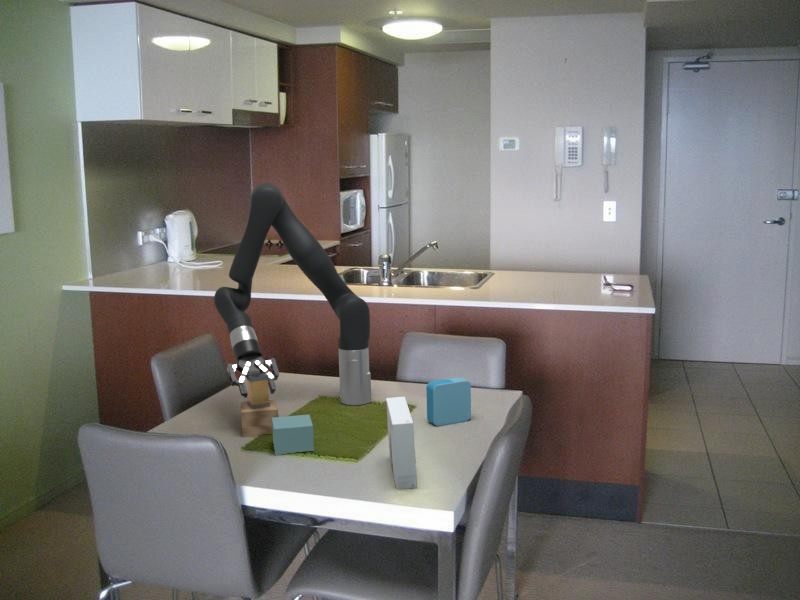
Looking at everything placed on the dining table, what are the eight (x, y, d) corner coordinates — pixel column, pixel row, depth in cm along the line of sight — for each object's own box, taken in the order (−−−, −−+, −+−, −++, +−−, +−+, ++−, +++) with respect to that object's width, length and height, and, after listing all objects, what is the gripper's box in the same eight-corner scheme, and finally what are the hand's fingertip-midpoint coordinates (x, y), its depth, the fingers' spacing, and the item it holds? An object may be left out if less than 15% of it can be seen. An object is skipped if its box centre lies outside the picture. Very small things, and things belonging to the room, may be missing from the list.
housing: (264, 402, 242) (263, 371, 240) (270, 406, 237) (268, 375, 236) (247, 404, 240) (245, 373, 238) (252, 409, 235) (251, 377, 234)
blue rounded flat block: (463, 416, 248) (463, 376, 246) (471, 420, 244) (471, 379, 242) (426, 422, 243) (425, 381, 241) (434, 427, 239) (433, 385, 237)
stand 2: (310, 439, 231) (309, 414, 229) (314, 451, 221) (313, 425, 220) (273, 442, 229) (271, 417, 228) (275, 455, 219) (273, 429, 218)
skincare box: (387, 457, 216) (385, 397, 213) (408, 456, 216) (407, 395, 213) (393, 489, 195) (392, 423, 192) (417, 488, 195) (416, 422, 193)
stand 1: (277, 422, 246) (275, 399, 244) (279, 433, 236) (277, 409, 235) (241, 425, 244) (240, 402, 242) (242, 437, 234) (240, 412, 233)
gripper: (222, 341, 239) (236, 391, 231) (271, 335, 245) (287, 383, 237) (219, 355, 245) (232, 405, 236) (267, 349, 251) (281, 397, 243)
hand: (259, 394), depth 237 cm, fingers open, 7 cm apart
